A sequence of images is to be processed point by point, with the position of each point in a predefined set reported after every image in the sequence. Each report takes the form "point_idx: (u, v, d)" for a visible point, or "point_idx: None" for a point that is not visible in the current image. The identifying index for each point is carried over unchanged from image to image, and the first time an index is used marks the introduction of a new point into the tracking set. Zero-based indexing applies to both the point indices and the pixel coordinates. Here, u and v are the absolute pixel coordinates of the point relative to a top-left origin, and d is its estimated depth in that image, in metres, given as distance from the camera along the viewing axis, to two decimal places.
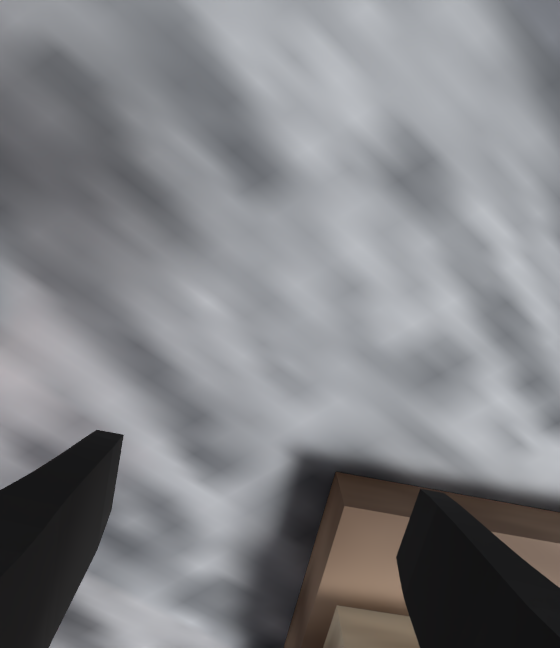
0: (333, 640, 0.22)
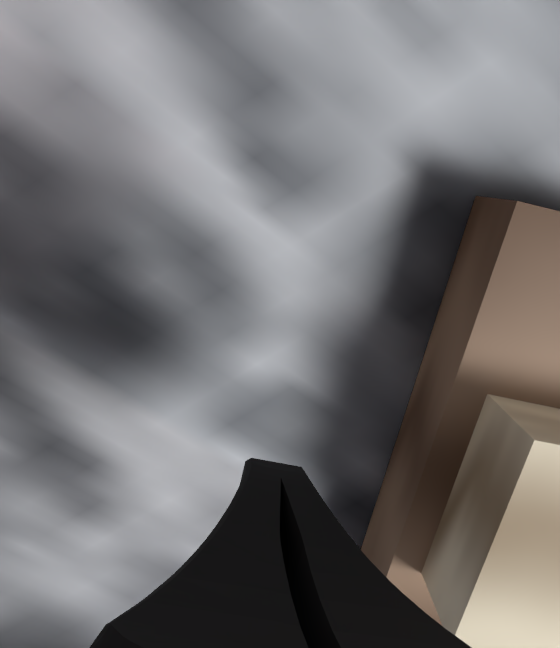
0: (488, 443, 0.13)
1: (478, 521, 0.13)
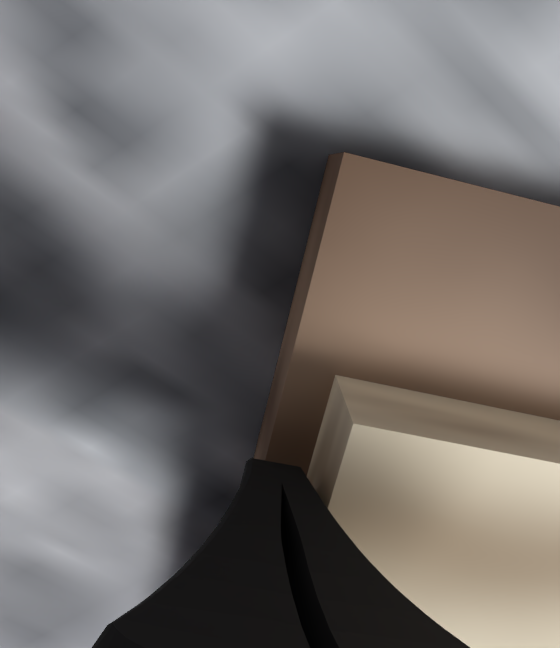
0: (329, 429, 0.12)
1: None
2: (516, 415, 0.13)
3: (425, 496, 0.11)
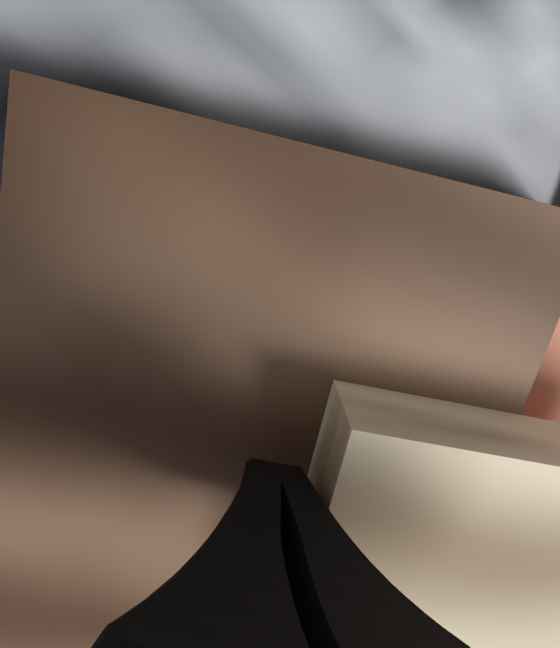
0: (328, 434, 0.12)
1: None
2: (514, 417, 0.13)
3: (425, 501, 0.11)
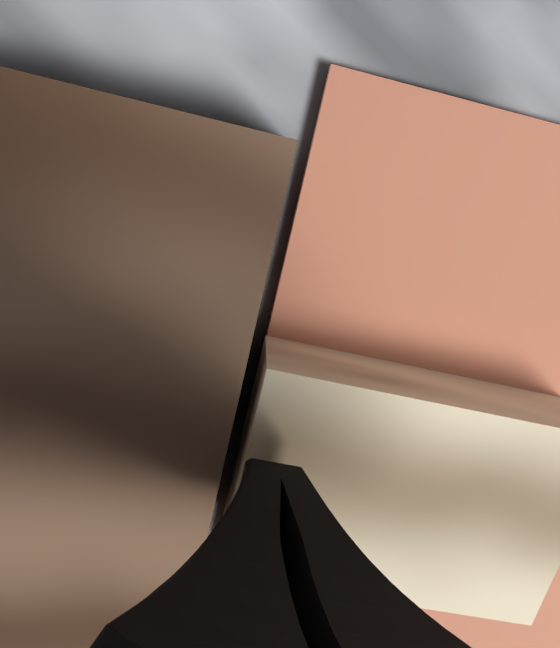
0: (257, 381, 0.14)
1: (241, 455, 0.14)
2: (424, 371, 0.15)
3: (332, 433, 0.13)
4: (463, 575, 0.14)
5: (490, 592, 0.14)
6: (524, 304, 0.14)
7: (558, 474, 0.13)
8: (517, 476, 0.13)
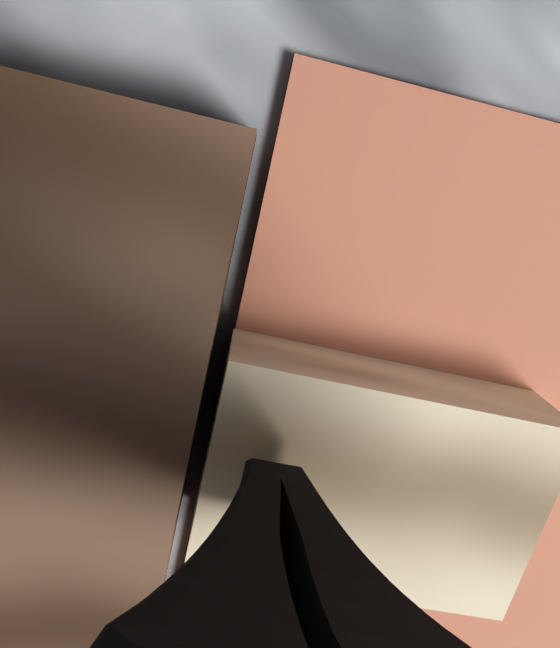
0: (224, 374, 0.14)
1: (208, 449, 0.14)
2: (394, 364, 0.15)
3: (296, 426, 0.13)
4: (432, 570, 0.14)
5: (461, 587, 0.14)
6: (494, 297, 0.14)
7: (526, 467, 0.13)
8: (485, 469, 0.13)
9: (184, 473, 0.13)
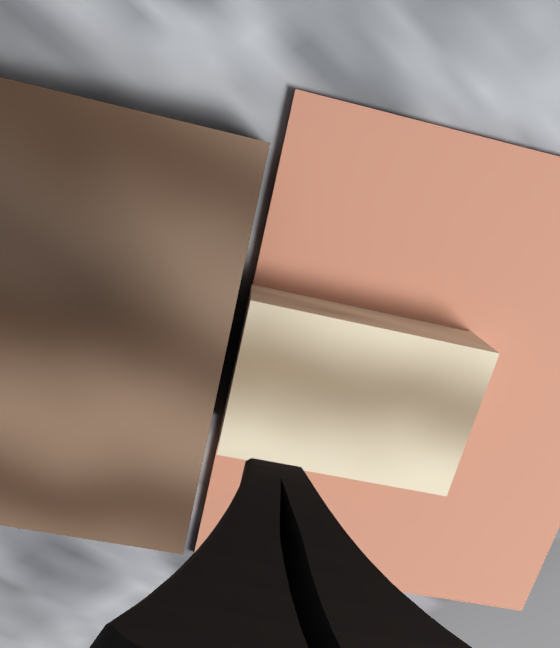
0: (245, 315, 0.19)
1: (234, 368, 0.19)
2: (368, 310, 0.20)
3: (297, 347, 0.18)
4: (395, 456, 0.19)
5: (415, 469, 0.20)
6: (440, 261, 0.20)
7: (458, 379, 0.19)
8: (429, 380, 0.19)
9: (218, 383, 0.19)
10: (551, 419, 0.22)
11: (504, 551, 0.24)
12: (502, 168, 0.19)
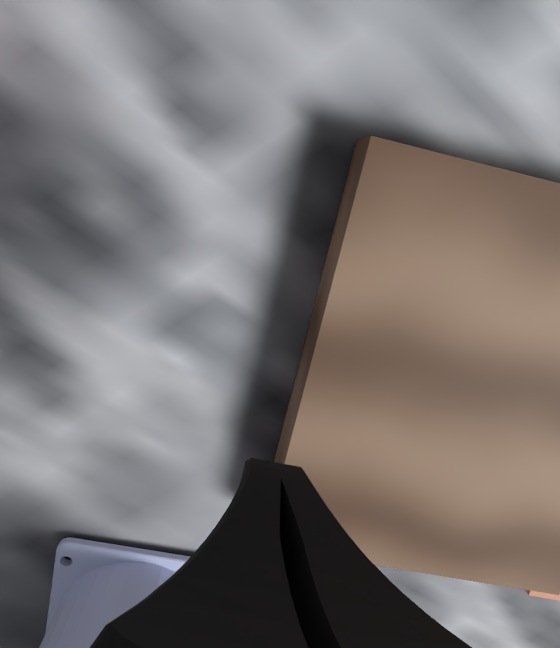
0: None
1: None
2: None
3: None
4: None
5: None
6: None
7: None
8: None
9: None
10: None
11: None
12: None
